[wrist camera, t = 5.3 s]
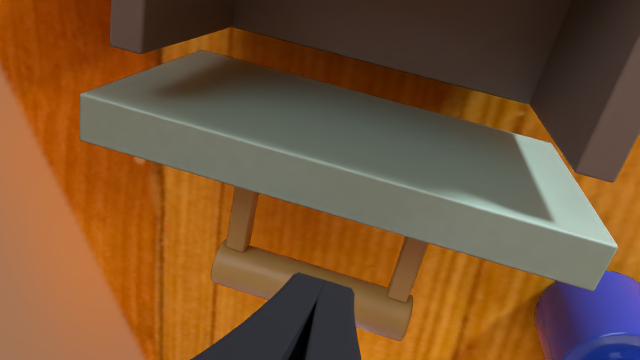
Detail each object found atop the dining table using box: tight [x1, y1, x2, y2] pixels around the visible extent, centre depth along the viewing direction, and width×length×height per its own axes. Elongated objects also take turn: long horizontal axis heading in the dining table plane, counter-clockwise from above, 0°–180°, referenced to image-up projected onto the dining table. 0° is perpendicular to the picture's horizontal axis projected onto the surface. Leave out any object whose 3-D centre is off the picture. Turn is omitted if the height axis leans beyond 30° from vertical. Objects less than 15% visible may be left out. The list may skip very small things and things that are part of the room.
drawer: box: [80, 0, 640, 341], centre depth 13 cm, size 17×12×7 cm
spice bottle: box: [534, 270, 640, 360], centre depth 17 cm, size 4×4×5 cm
